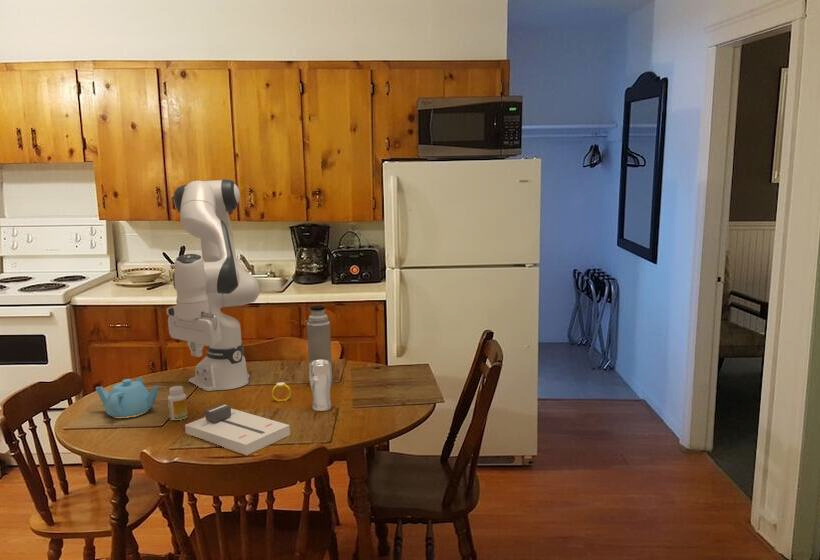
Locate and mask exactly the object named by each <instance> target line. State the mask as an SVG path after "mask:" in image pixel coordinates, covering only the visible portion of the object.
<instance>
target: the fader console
mask: <svg viewBox="0 0 820 560" xmlns="http://www.w3.org/2000/svg"><path fill="white" fill-rule="evenodd" d="M184 428H185V429H184V430H185V434H186V433H187V434H190V435H193V436H196V437H199V438H201V439H205V440H207V441H210V442H212V443H215V444H217V445H216V446H218V445H220V446H222V447H221V448H223V447H224V448H223V449H227V450H230V451H232V452H235V453H239V454H242V455H244V456H248V455H251V454H253V453H255V452H257V451H260V450H261V449H264V448H266V447H268V446H271V445H272V444H274V443H276V442H278V441H280V440H283V439H284V438H287V437H289V436H290V435H291V430H290V424H287V423H283V422H280V421H277V420H273V419H269V418H265V417H263V416H259V415H257V414H256V415H255V414H251V413H248V412H245V411H242V410H238V409H235V408H232V407H231V417H228V418H226V419H223V420H221V421H218V422H216V423H214V422H211V421H207V420H206V416H204V417H202V418H199V419H197V420H194V421H192V422H188V423H187V424H184ZM212 443H211V444H212ZM215 444H214V445H215ZM220 446H219V447H220Z"/></svg>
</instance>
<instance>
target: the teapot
mask: <svg viewBox="0 0 820 560" xmlns="http://www.w3.org/2000/svg"><path fill="white" fill-rule="evenodd" d="M132 380H133V379H131V378H125V379H122V381H121V382H120V383H119V382H118V383H117V384H115V385H114V386H112V388H111V390H110V391H109V392H108V391H107V390H106V389H104V387H103V386H96V387H95V390H96V392H97V394H98V397H99V399H100V400H101V402H102V404H103V406H104V410H105V414H107V415H108V416H109V415H110V416H109V417H111V416H113V417H127V416H133V415H138V414H141V413H144V412H146V411H148V410H149V409H150V410H151V409H152V407H153V405H154V404H155V401H156V399H157V395H158V392H159V388H160V386H159V385H153V386H152V388H151V391H150V392H149V390H148V388H146V386H145V385H144V381H143V380H144V378H143V377H137V378H136V380H135V381H134V380H133V381H132ZM150 410H149V411H150ZM149 411H148V412H149Z"/></svg>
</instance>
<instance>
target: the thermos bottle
mask: <svg viewBox="0 0 820 560" xmlns="http://www.w3.org/2000/svg"><path fill="white" fill-rule="evenodd" d="M309 308H310V314H309V316H308V321H307V322H306V335H307V336H306V337H307V338H306V339H307V352H308V364H309V363H310V362H311V361H314V360H320V359H324V360H329V361H330V364H331V373H332V374H333V363H332V362H333V361H332V360H333V359H332V341H331V340H332V339H331V338H332V337H331V322H330V321H329V320H328V319H329V316H328V315H327V314H326V310H325V309H326V308H325V306H324V305H313V306H311V307H309ZM333 382H334V381H333V378H332V380H331V386H333ZM309 386H310V387H311V385H310V384H309Z"/></svg>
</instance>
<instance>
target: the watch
mask: <svg viewBox="0 0 820 560" xmlns="http://www.w3.org/2000/svg"><path fill="white" fill-rule="evenodd" d="M282 387H285V388H287V391H288V392H289V393H288V396H287V397H286V398H281V399H279V398H277V397H275V395H274V392H275V389H277V388H282ZM291 395H292V392H291V388H290V386H289V385H288V384H286V383H285V382H281V381H280V382H277V383H276V384H275V385H274V386H273V388H272V391H271V396H272V398H273V400H274V401H275V402H287V401H288V400H289V399H290V397H291Z"/></svg>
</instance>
